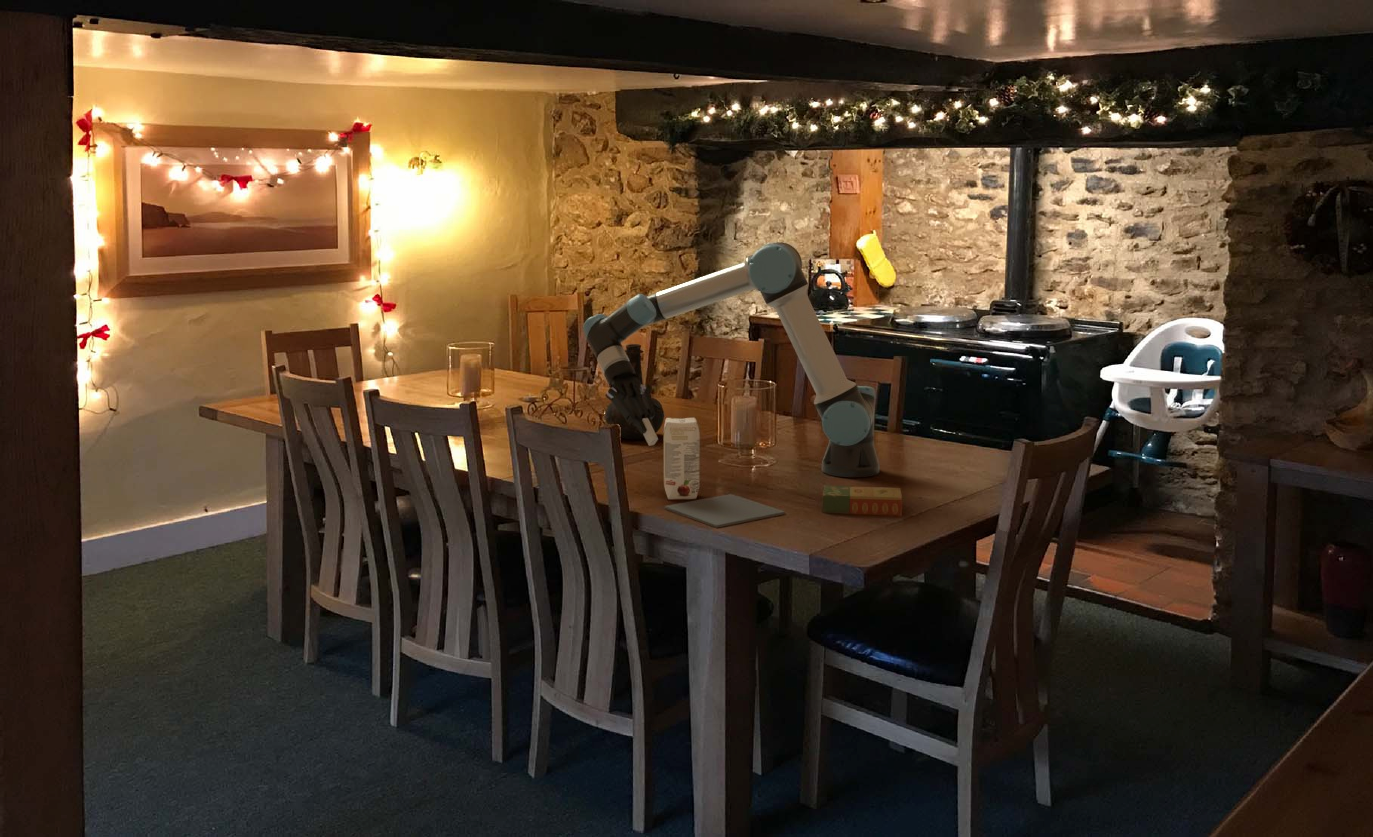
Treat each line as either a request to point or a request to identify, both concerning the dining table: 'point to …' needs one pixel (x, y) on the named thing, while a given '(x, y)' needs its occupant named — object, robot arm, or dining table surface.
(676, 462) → the juice carton
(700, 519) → the mat
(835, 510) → the carton
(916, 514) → the dining table surface
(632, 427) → the glass bottle
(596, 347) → the robot arm
